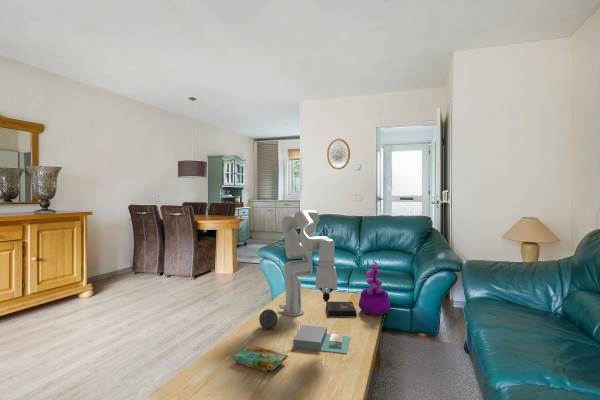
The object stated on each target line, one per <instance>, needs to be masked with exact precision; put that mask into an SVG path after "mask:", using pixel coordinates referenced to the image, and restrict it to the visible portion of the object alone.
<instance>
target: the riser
mask: <svg viewBox="0 0 600 400" xmlns="http://www.w3.org/2000/svg"><path fill="white" fill-rule="evenodd" d="M327 334H328V326H327V327H326V326H317V325H305V324H301V327H300V328H299V330H298V331H297V333H296V335H294V337H293V340H292V341H293V343H292V345H293V346H292V348H294V349H299V350H300V349H301V350H309V351H317V352H322V351H321V348H322V345H323V343H324V340H325V338H326V335H327Z"/></svg>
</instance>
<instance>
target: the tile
mask: <svg viewBox="0 0 600 400" xmlns="http://www.w3.org/2000/svg"><path fill="white" fill-rule="evenodd" d="M330 335H331V337H330V340H329V346H335V347H342V344H343V341H344V336H345V334H340V333H339V334H338V333H330Z"/></svg>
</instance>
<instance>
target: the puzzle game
mask: <svg viewBox="0 0 600 400" xmlns="http://www.w3.org/2000/svg"><path fill="white" fill-rule="evenodd" d="M288 357H289V355H288V353H287V354H286V353H282V352H280V351H276V350H272V349H269V348H266V347H265V348H264V347H262V346H259V345H254V344H249V345H248V346H246V347H245V348H242V349H241V350H240V351H238V352H236V353H235V354H233V356H232V359H233V361H235V362H236V363H237V364H238V363H239V364H238V365H242V366H245V367H249V368H251V369H252V368H253V369H255V370H258V371H262V372H264V373H267V372H268V371H273V370H275V368H276V367H278V366H279V365H281V364H282V363H283V362H284V361H286V360H287V359H288Z"/></svg>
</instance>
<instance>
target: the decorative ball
mask: <svg viewBox="0 0 600 400" xmlns="http://www.w3.org/2000/svg"><path fill="white" fill-rule="evenodd" d="M258 321H259V325H260V326H261V327H262V328H264V329H265V330H270V329H274V327H276V325H277V323H278V321H279V317H278V314H277V312H276V311H274V310H273V309H270V308H267V309H264V310H263V311H262V312H261V313H260V314H259V318H258Z"/></svg>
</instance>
